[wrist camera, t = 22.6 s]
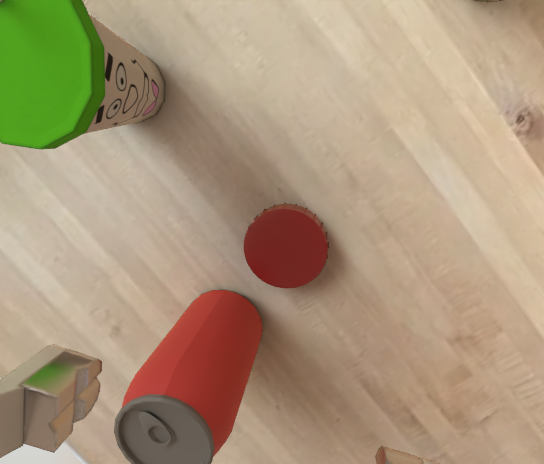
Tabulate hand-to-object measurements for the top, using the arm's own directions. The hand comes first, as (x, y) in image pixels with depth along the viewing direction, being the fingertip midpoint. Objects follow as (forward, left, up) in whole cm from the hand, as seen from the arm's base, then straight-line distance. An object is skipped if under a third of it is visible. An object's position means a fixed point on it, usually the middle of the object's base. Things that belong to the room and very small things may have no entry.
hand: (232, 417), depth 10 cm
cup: (+15, +4, -18) cm, 24 cm away
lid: (0, +1, -16) cm, 16 cm away
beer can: (-4, +9, -18) cm, 20 cm away
